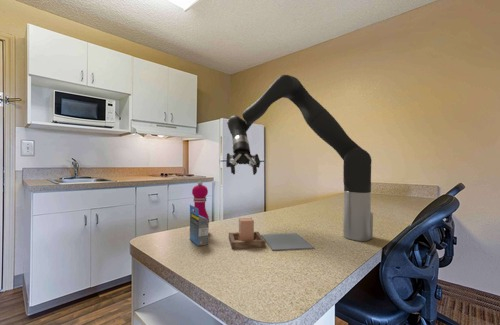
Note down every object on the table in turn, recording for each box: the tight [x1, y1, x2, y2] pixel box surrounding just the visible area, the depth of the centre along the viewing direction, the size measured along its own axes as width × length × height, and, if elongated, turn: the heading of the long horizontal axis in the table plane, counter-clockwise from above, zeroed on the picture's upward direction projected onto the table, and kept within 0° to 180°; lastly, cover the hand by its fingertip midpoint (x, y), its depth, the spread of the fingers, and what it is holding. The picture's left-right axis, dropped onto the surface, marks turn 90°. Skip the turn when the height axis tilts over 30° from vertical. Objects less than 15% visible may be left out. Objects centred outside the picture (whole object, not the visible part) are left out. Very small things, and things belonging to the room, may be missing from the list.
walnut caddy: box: [228, 231, 266, 250], centre depth 84 cm, size 11×11×2 cm
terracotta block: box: [238, 217, 255, 241], centre depth 84 cm, size 4×4×8 cm
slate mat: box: [260, 232, 315, 252], centre depth 86 cm, size 14×16×1 cm
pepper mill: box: [191, 180, 210, 221], centre depth 95 cm, size 7×7×20 cm
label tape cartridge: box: [189, 204, 210, 247], centre depth 84 cm, size 9×4×12 cm, turn 32°
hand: (244, 173), depth 100 cm, fingers open, 8 cm apart
